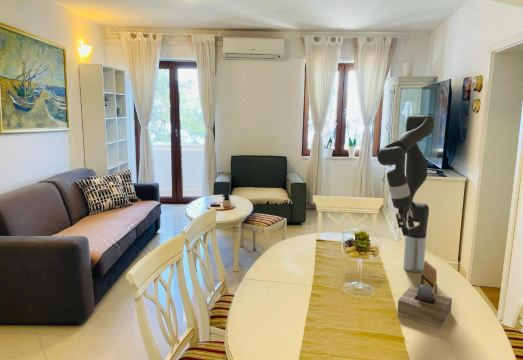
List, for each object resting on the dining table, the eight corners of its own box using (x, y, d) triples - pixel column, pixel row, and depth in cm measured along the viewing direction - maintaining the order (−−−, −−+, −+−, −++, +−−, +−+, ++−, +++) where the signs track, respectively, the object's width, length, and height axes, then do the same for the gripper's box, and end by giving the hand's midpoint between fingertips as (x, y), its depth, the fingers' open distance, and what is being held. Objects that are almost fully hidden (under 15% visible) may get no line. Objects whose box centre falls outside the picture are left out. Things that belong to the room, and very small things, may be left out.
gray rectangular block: (418, 307, 151) (420, 284, 149) (432, 311, 147) (434, 287, 146) (416, 310, 148) (418, 286, 146) (429, 315, 145) (431, 290, 143)
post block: (408, 300, 158) (409, 286, 157) (450, 312, 149) (452, 298, 148) (397, 314, 148) (398, 300, 147) (441, 328, 138) (443, 313, 137)
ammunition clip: (436, 296, 162) (438, 269, 159) (432, 296, 162) (434, 269, 159) (424, 284, 172) (426, 259, 170) (420, 284, 172) (422, 259, 170)
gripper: (404, 200, 148) (413, 238, 151) (414, 187, 159) (422, 223, 162) (385, 201, 153) (394, 238, 155) (396, 189, 163) (404, 224, 166)
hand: (409, 231), depth 159 cm, fingers open, 8 cm apart
